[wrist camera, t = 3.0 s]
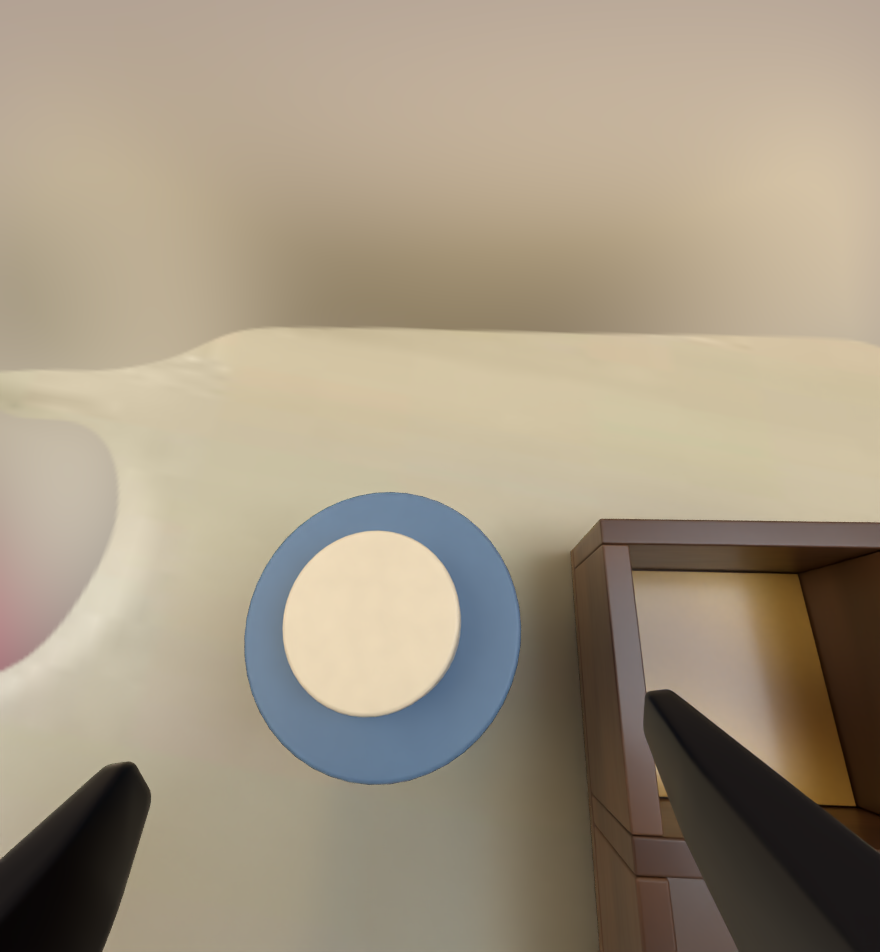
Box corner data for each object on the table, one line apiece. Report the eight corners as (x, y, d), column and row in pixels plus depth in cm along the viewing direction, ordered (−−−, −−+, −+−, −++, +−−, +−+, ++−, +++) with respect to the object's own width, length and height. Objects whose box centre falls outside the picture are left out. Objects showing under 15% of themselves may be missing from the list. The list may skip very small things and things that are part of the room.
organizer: (977, 1223, 12) (1258, 1532, 8) (616, 1186, 12) (692, 1455, 8) (803, 555, 18) (905, 521, 14) (570, 551, 18) (599, 517, 14)
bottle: (495, 724, 16) (535, 812, 7) (348, 718, 17) (183, 793, 7) (494, 575, 18) (522, 473, 9) (362, 572, 19) (246, 471, 9)
